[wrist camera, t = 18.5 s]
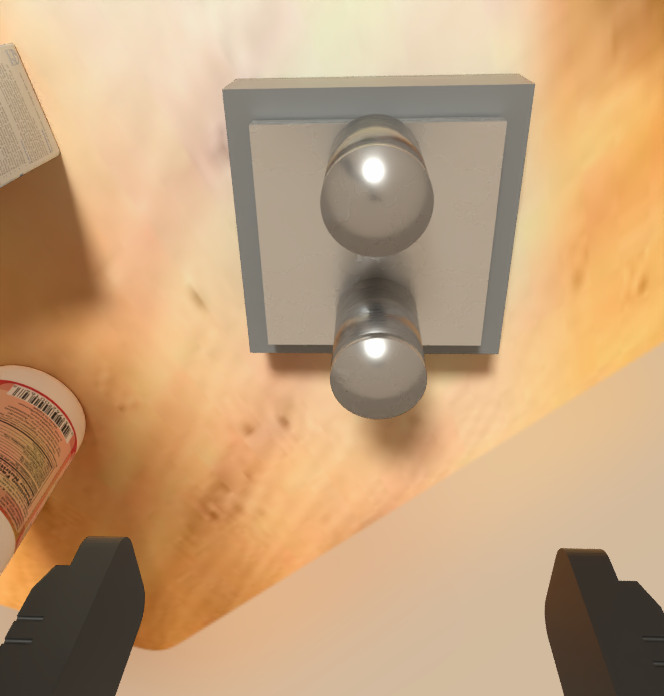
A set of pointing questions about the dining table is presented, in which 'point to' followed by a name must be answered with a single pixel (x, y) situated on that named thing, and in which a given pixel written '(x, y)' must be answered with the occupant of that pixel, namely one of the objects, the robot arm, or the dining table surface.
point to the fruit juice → (32, 447)
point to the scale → (399, 102)
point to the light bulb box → (21, 121)
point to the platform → (350, 268)
